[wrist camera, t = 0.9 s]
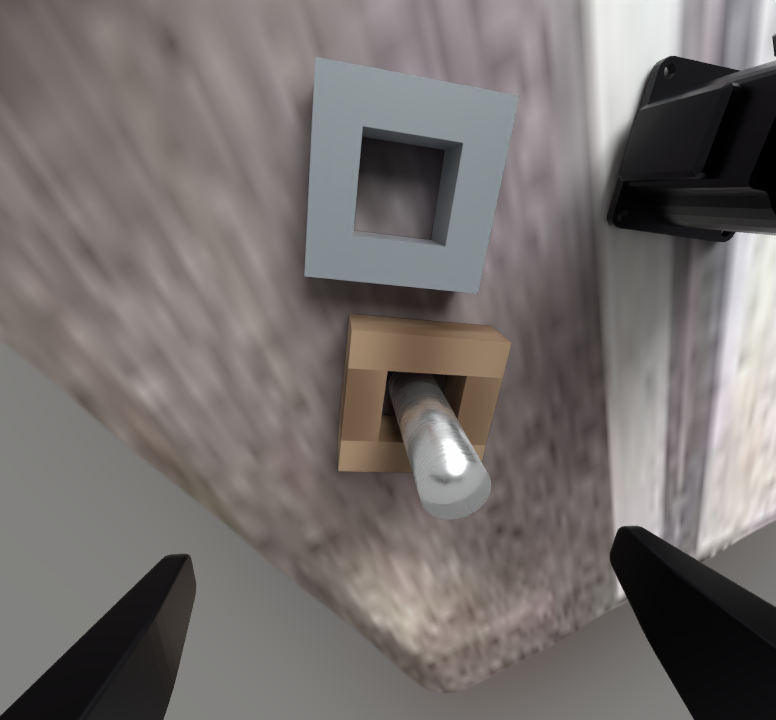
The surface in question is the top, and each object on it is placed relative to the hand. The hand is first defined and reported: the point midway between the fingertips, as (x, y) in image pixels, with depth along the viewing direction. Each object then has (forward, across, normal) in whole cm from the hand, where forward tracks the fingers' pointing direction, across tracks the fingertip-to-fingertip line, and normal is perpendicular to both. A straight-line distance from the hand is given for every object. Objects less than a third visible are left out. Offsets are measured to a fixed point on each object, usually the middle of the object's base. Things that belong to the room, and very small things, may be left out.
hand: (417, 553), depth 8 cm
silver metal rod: (+12, -2, +2) cm, 12 cm away
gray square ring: (+12, -1, -7) cm, 14 cm away
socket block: (+12, -2, +2) cm, 12 cm away
